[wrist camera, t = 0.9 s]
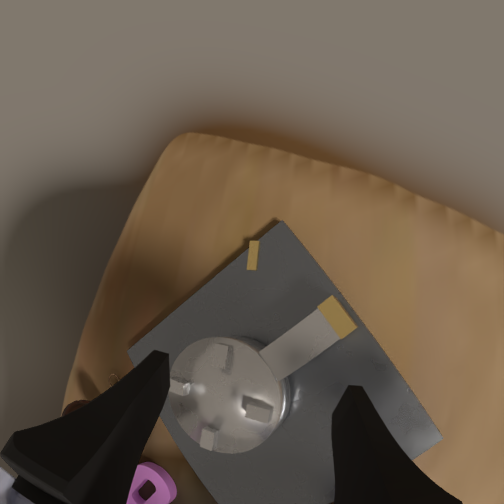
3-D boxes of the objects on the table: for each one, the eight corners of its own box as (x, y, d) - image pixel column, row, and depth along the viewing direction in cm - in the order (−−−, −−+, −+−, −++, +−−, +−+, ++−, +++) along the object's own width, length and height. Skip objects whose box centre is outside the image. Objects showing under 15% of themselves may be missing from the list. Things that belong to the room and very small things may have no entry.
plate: (440, 433, 16) (443, 439, 15) (246, 525, 20) (240, 532, 18) (283, 221, 25) (278, 216, 24) (133, 347, 29) (124, 348, 27)
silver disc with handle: (225, 455, 21) (202, 471, 18) (172, 370, 25) (144, 374, 21) (383, 361, 18) (386, 369, 15) (311, 264, 22) (299, 253, 19)
